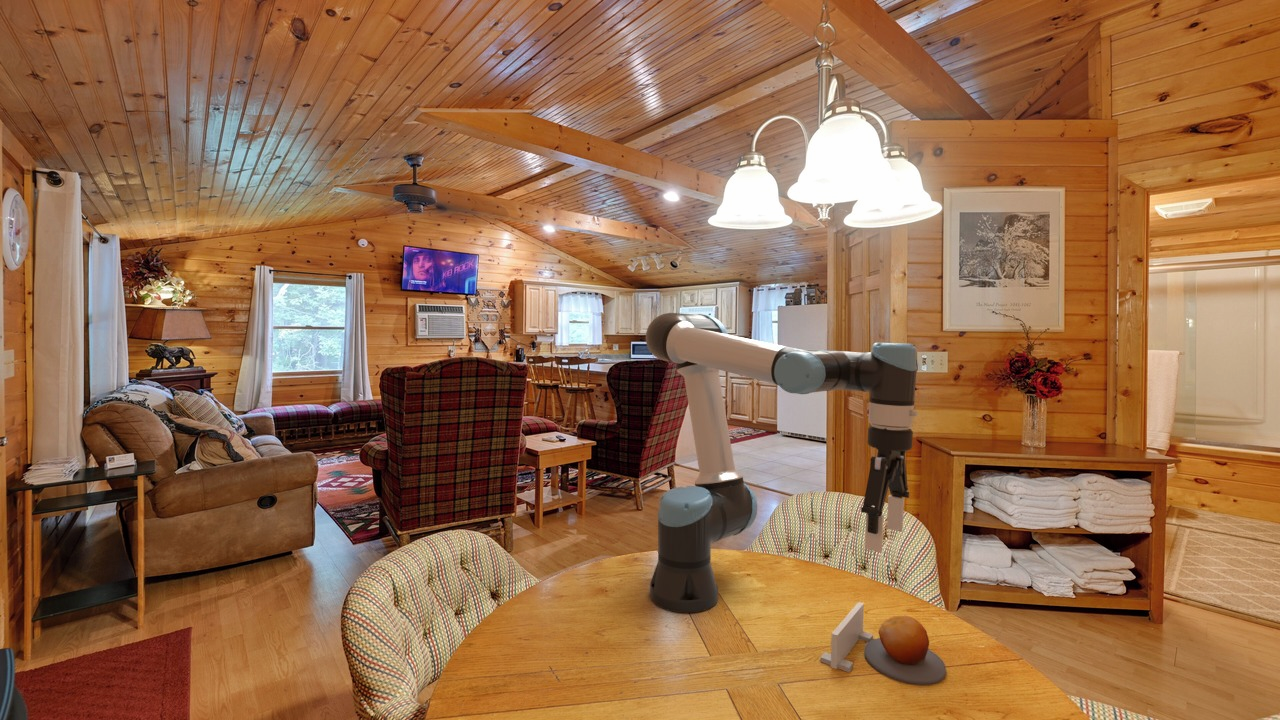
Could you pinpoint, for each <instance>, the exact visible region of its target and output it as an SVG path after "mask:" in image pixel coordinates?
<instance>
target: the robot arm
mask: <svg viewBox="0 0 1280 720" xmlns="http://www.w3.org/2000/svg"><path fill="white" fill-rule="evenodd" d="M645 343H646V346H647V348H648V350H649V352H650V353H651V354H652V356H654V357H655V358H657V359H659V360H661V361H664V362H671V363H675V366H676V372H677V373H678V374H680V375H681V376H682V377H683V379H684V384H685V390H686V397H687V403H688V409H689V415H690V421H691V427H692V434H693V441H694V446H695V452H696V458H697V465H698V472H699V475H698V477H697V478H696V479H695V481H694V485H686V486H677V487H673V488H671V489H668V490H667V491H665V492H664V493H663V494H662V495H661V497H660V499H659V502H658V503H659V504H658V511H657V522H658V523H657V524H658V525H657V535H658V536H657V537H658V538H657V539H658V540H657V541H658V542H657V543H658V544H657V563H656V565H655V568H654V572H653V575H652V577H651V581H650V583H649V598H650V600H651V601H652V603H654V604H655V605H656V606H658V607H659V608H661V609H664V610H666V611H669V612H675V613H684V614H685V613H687V614H689V613H690V614H691V613H699V612H703V611H707V610H710V609H711V608H713V607H714V606H715V605H716V604H717V603H718V600H719V587H718V584H717V581H716V577H715V574H714V571H713V567H712V563H711V559H712V558H711V557H712V555H711V554H712V553H711V551H712V550H711V549H712V544H713V543H716V542H719V541H721V540H724V539H726V538H729V537H732V536H737V535H739V534H741V533H742V532H744V531H746V530H748V529H749V528H750V527H751V526H752V525H753V523H755V520H756V518H757V515H758V499H757V498H756V495H755V492H754V491H753V490H751V488H750V486H749V485H747V484H746V483H745V482H744V475H742V474H741V473H740V472H739V471H737V469H736V466H735V461H734V456H733V450H732V449H733V448H732V445H731V444H732V443H731V438H730V431H729V427H728V426H729V425H728V421H727V420H728V419H727V413H726V408H725V402H724V396H723V389H722V384H721V379H720V374H719V373H720V371H723V372H728V373H731V374H734V375H738V376H742V377H746V378H750V379H753V380H758V381H761V382H765V383H769V384H773V385H776V386H779V387H780V388H781V389H782V390H783V391H785V392H786V393H789V394H795V395H796V394H797V395H808V394H811V393H819V392H826V391H827V392H829V391H838V390H839V391H841V390H844V391H855V392H864V393H866V392H867V393H869V404H868V423H869V424H871V425H869V426H868V427H867V445H868V446H870V447H871V448H875V449H876V450H877V453H876V456H871V457H870V464H869V465H870V467H869V472H868V477H867V483H866V488H865V493H864V498H863V505H862V506H861V507H860V511H861V513H865V514H866V517H865V534H864V535H865V536H864V537H865V538H864V549H865V550H868V551H873V552H877V553H882V551H883V542H884V541H883V537H884V536H883V535H884V518H885V515H884V514H883V510H884V507H885V503H886V498H887V497H888V498H887V499H888V501H887V517H886V529H887V530H892V531H894V532H895V531H896V532H899V533H902V532H903V530H904V526H903V525H904V509H905V506H904V505H905V499H906V498H907V499H910V492H908V491H909V486H908V478H907V476H908V475H907V466H906V465H907V464H906V452H908V451H910V450H911V449H912V448H913V441H914V440H913V439H914V436H913V435H914V432H913V430H912V428H911V427H912V426H914V417H916V416H918V412H917V411H916V410H914V408H915V395H916V394H915V393H916V383H917V371H918V367H917V348H916V346H915V345H913V344H912V343H901V342H900V343H899V342H898V343H897V342H875V343H873V344H872V347H871V350H870V352H869V351H868V352H866V351H865V352H859V351H856V352H855V351H844V350H843V351H842V350H832V349H831V350H830V349H828V350H825V349H824V350H817V351H811V350H807V349H806V350H805V349H800V348H795V347H790V346H786V345H782V344H781V345H780V344H776V343H775V344H774V343H770V342H766V341H765V342H764V341H760V340H757V339H750V338H745V337H743V336H736V335H732V334H728V331H727V328H726V327H725V325H724V324H723V323H722V322H721V321H720V320H719V319H718V318H716V317H714V316H711V315H707V314H703V313H698V314H697V313H695V314H694V313H692V314H691V313H678V312H667V313H666V312H665V313H663V314H660V315H658V316H657V317H655V318H654V319H652V320H651V322H650V323H649V325H648V327H647V329H646V332H645ZM888 492H889V494H890V495H888V496H887V494H888Z"/></svg>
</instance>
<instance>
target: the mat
mask: <svg viewBox="0 0 1280 720" xmlns="http://www.w3.org/2000/svg"><path fill="white" fill-rule="evenodd" d="M863 649H864V651H863V652H864V658H865V660H866V662H867V664H869V666H871V667H872V669H874V670H876V671H877V672H879V673H880V674H881V675H883V676H885V677H887V678H889V679H891V680H892V679H893V680H895V681H898V682H902V683H905V684H910V685H917V686H930V685H931V686H932V685H936V684H938V683H941V682H942V681H943V680H944V679H945V678H946V673H947V672H946V665H945V663H944V661H943V659H942V658H941V657H940V656H939V655H937V654H936V653H935V652H933V651H932V650H931V649H929V648H928V651H927V654H926V657H925V660H924V664H922V663H919V664H915V665H907V664H902V663H899V662H897V661H896V660H895V659H893V658H892V657H891V656H890V655H889V654H888V653H887V652H886V650H885V649H884V647H883V645H882V643H881V640H880V637H878V638H875V639H874V638H873V639H872V640H871V641H869V642H866V643H865V646H864V648H863Z"/></svg>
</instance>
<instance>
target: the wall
mask: <svg viewBox="0 0 1280 720" xmlns="http://www.w3.org/2000/svg"><path fill="white" fill-rule="evenodd" d="M864 605H865V603H863V602H860V601H858V602H857V603H856V604H855V605H854V606H853V607H852V609H851V610H850V611H849V613H847V615H845V617H844V618H843V619H842V620H841V622H840V623H839V624H838V626H836V628H834V630H833V631H832V632H831V642H830V644H831V645H830V646H831V648H830V653H828V652H825V651H824V652H823V653H822V655H820V662H821V663H823V664H827V665H828V666H830V668H833V669H835V670H838V669H839V670H841V671H844V672H846V673H850V672H851V671H852V669H854V663H853V662H852V661H849V660H847V659H846V657H847V656H848V654H849V653H850V652H851V651H852V649H853V648H854V646H855V645H856V644H857V643H858V641H859V640H860V641H863V642H866V643H868V642H869V641H871V640H873V639H874V633H873V634H872V633H870V632H868V631H864V611H865V610H864V609H865V608H864Z"/></svg>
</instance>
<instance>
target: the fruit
mask: <svg viewBox="0 0 1280 720" xmlns="http://www.w3.org/2000/svg"><path fill="white" fill-rule="evenodd" d="M878 636H879V637H878V638H880V640H881V643H882V645H883V647H884V649H885V650H886V652H887V653H888V654H889V655H890V656H891V657H892V658H893V659H895V660H896V661H897V662H899V663H902V664H907V665H915V664H919V663H922V664H924V660H925V657H926V654H927V651H928V649H929V645H930V640H929V635H928V632H927V630H926V628H925V627H924V626H923V625H922V624H921V623H920V622H919V621H918V620H917V619H916V618H914V617H912V616H908V615H893V616H891V617H889V618H887V619H886V620H884V622H883V623H881V625H880V627H879V629H878Z"/></svg>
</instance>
